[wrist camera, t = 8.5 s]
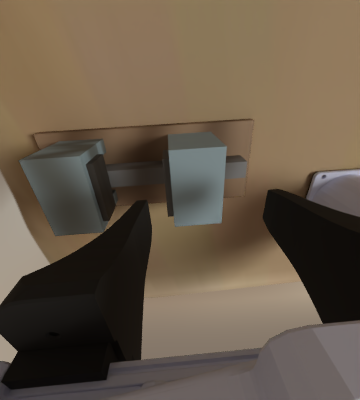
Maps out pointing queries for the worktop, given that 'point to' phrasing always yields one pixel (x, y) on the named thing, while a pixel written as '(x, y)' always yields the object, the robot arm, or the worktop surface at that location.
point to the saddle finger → (194, 178)
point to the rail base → (154, 150)
